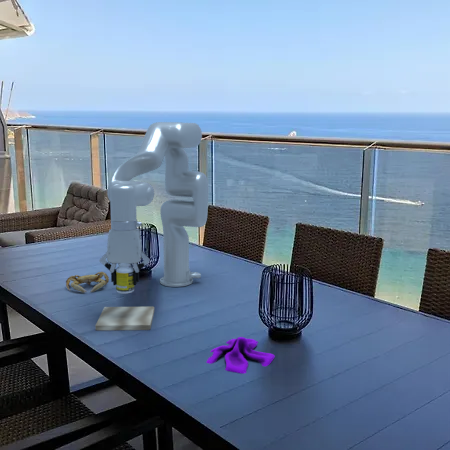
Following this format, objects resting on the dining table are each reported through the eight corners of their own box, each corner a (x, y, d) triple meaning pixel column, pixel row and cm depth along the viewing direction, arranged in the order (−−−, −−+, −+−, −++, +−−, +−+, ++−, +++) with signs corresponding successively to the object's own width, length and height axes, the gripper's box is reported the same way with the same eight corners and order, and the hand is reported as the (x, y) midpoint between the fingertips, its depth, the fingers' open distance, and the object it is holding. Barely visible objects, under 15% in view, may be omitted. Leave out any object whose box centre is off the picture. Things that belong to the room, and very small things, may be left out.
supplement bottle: (130, 294, 161) (129, 263, 159) (113, 293, 162) (112, 261, 160) (137, 289, 166) (136, 258, 165) (120, 288, 168) (119, 257, 166)
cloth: (246, 337, 156) (246, 317, 154) (290, 360, 141) (291, 338, 140) (180, 357, 142) (180, 335, 141) (222, 384, 128) (222, 360, 127)
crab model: (67, 296, 189) (66, 281, 188) (65, 285, 201) (64, 271, 199) (112, 291, 194) (111, 277, 193) (107, 281, 206) (106, 267, 205)
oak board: (154, 310, 175) (154, 306, 174) (150, 329, 159) (150, 325, 159) (104, 311, 174) (104, 306, 173) (95, 330, 158) (95, 325, 158)
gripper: (153, 223, 165) (154, 280, 168) (97, 223, 164) (99, 280, 167) (151, 228, 157) (152, 287, 161) (92, 228, 156) (94, 287, 160)
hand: (125, 283), depth 164 cm, fingers closed on supplement bottle, 5 cm apart
